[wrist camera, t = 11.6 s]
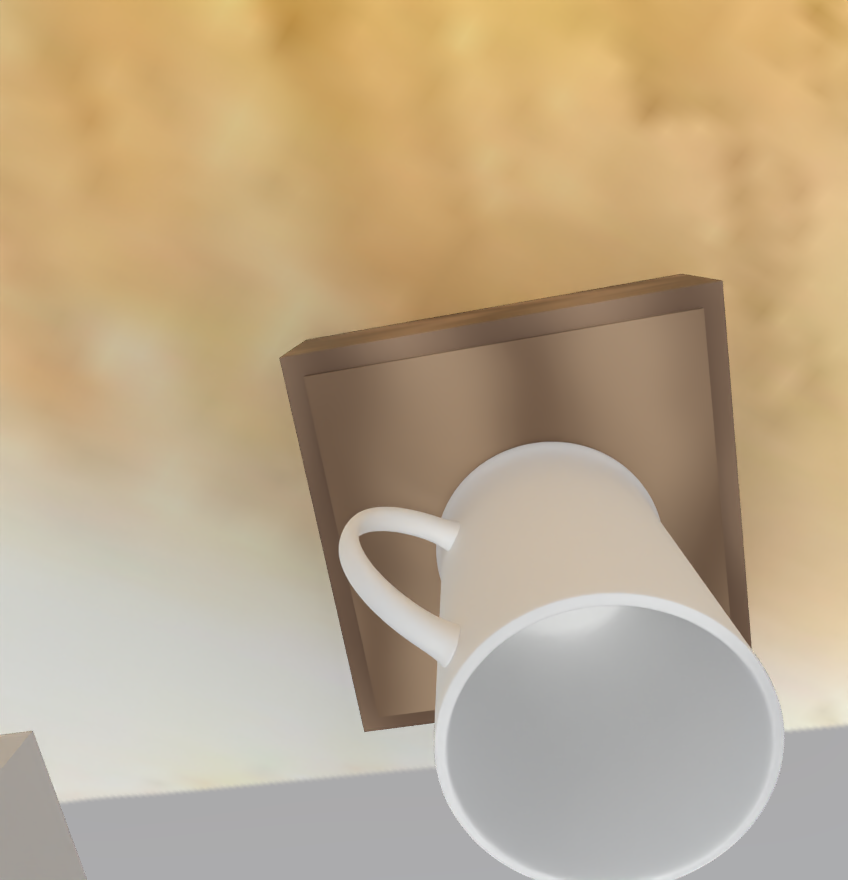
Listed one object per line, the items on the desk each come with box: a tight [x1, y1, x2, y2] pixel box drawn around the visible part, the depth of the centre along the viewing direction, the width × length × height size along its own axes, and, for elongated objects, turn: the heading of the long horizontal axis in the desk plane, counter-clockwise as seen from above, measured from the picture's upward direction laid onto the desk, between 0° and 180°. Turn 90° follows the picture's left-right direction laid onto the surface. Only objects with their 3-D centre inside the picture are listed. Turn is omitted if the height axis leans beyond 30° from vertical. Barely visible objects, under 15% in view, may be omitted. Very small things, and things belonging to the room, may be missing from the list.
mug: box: [339, 442, 784, 880], centre depth 23 cm, size 12×8×12 cm
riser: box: [280, 274, 752, 732], centre depth 32 cm, size 16×16×5 cm
